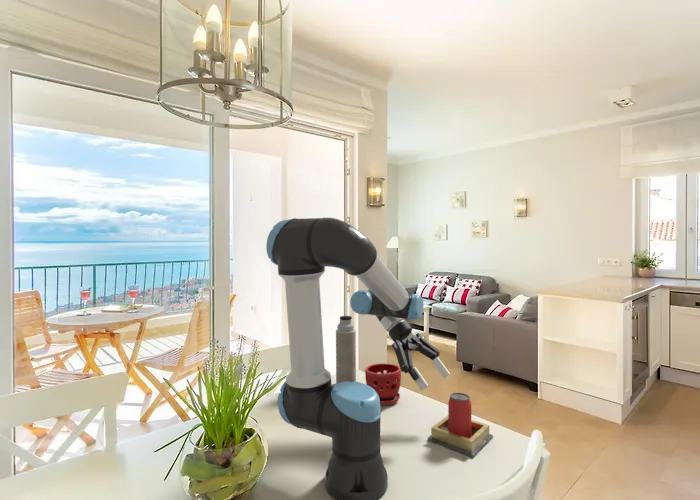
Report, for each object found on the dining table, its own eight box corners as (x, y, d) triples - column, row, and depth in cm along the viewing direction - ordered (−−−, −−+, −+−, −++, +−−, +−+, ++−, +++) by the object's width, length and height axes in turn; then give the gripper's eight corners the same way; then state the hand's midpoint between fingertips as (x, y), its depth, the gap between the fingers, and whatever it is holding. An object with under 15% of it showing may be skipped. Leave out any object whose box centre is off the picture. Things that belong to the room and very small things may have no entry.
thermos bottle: (332, 384, 159) (331, 316, 158) (346, 380, 164) (346, 313, 163) (345, 390, 153) (344, 319, 152) (359, 385, 158) (359, 316, 157)
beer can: (446, 438, 114) (445, 398, 114) (451, 429, 120) (451, 390, 120) (469, 444, 111) (469, 402, 111) (473, 433, 117) (473, 394, 117)
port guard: (473, 457, 106) (473, 444, 105) (427, 440, 115) (427, 427, 115) (492, 437, 116) (493, 425, 116) (449, 423, 125) (449, 411, 125)
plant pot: (401, 394, 149) (401, 363, 149) (400, 408, 136) (400, 374, 136) (367, 391, 151) (367, 361, 151) (363, 406, 138) (362, 372, 138)
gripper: (410, 326, 142) (447, 377, 132) (367, 340, 123) (406, 400, 113) (423, 314, 138) (462, 365, 128) (380, 325, 119) (423, 387, 110)
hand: (436, 382), depth 121 cm, fingers open, 13 cm apart
